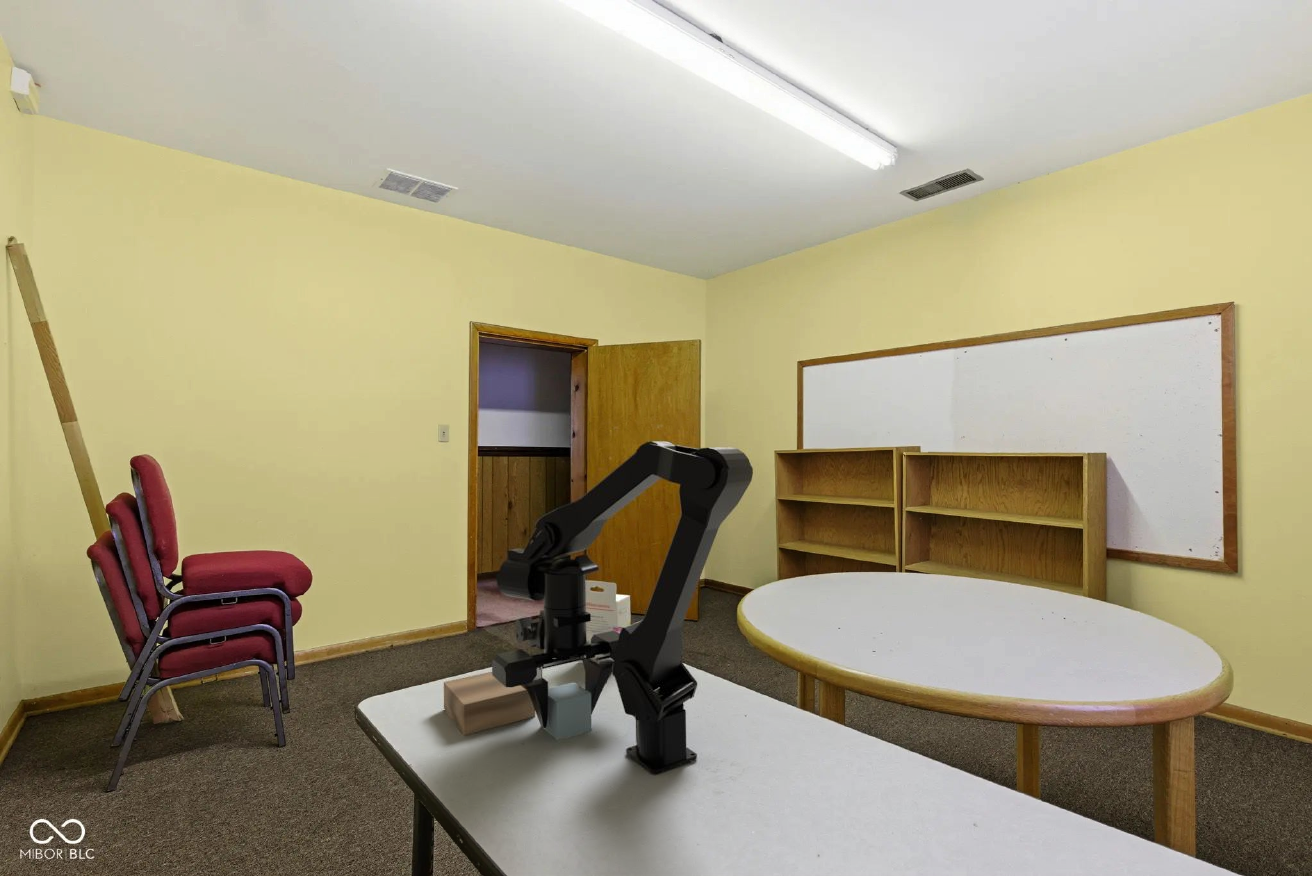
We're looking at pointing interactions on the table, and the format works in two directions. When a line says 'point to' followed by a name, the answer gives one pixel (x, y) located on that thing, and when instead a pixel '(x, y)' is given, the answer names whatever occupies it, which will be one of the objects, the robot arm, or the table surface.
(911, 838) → the table surface
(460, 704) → the walnut block
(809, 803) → the table surface
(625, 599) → the ink cartridge box
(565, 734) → the slate block
